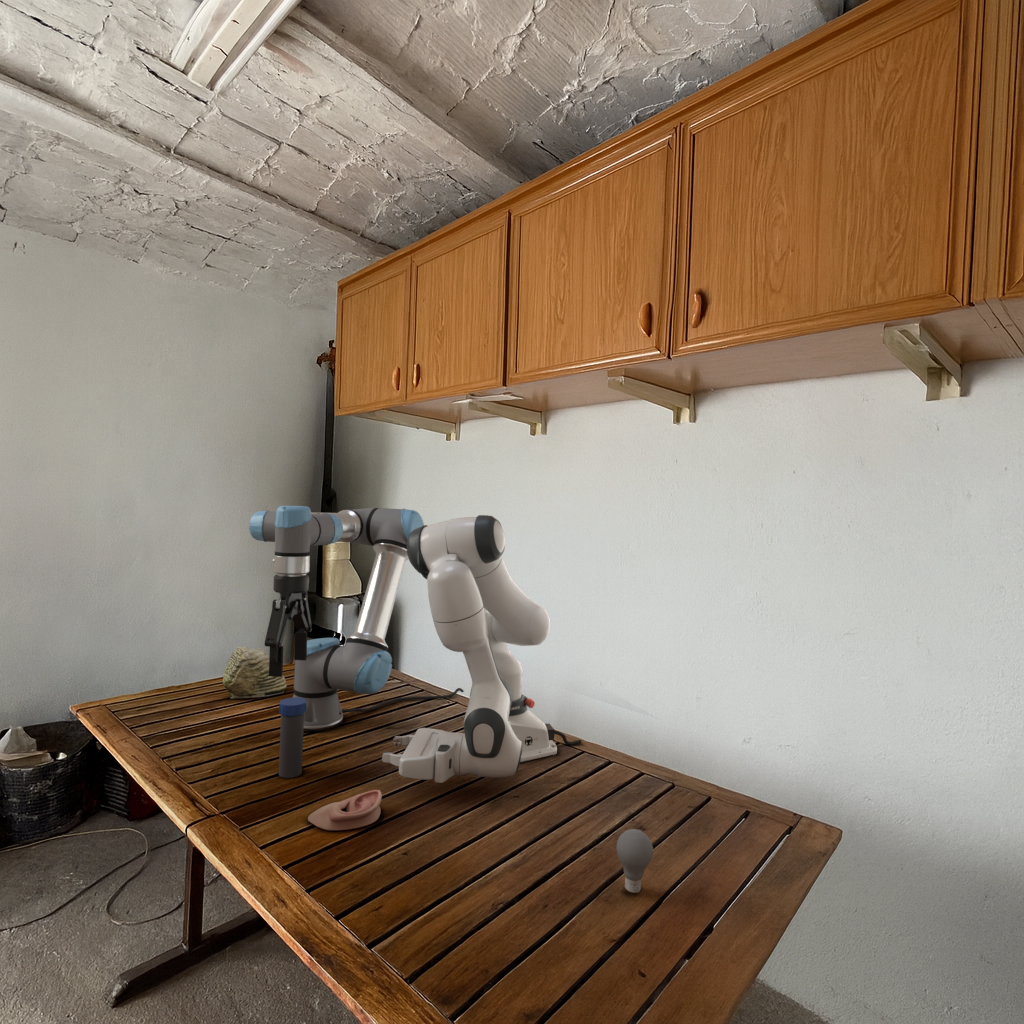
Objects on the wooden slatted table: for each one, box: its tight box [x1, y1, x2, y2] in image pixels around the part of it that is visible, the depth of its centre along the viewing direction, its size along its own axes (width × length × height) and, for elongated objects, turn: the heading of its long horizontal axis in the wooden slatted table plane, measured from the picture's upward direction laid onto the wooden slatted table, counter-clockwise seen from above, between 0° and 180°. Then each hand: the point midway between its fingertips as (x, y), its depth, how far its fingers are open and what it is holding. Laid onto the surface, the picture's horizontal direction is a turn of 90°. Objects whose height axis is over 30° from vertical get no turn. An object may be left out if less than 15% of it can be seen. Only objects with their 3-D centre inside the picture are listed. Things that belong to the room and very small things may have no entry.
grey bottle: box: [278, 714, 304, 779], centre depth 144 cm, size 5×5×16 cm
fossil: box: [222, 646, 288, 699], centre depth 198 cm, size 9×18×15 cm, turn 132°
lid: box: [278, 697, 307, 716], centre depth 144 cm, size 6×6×2 cm
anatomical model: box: [307, 789, 383, 831], centre depth 126 cm, size 13×4×12 cm
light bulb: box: [615, 828, 654, 894], centre depth 106 cm, size 6×6×10 cm
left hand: (288, 667), depth 143 cm, fingers open, 13 cm apart
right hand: (388, 748), depth 143 cm, fingers open, 8 cm apart
